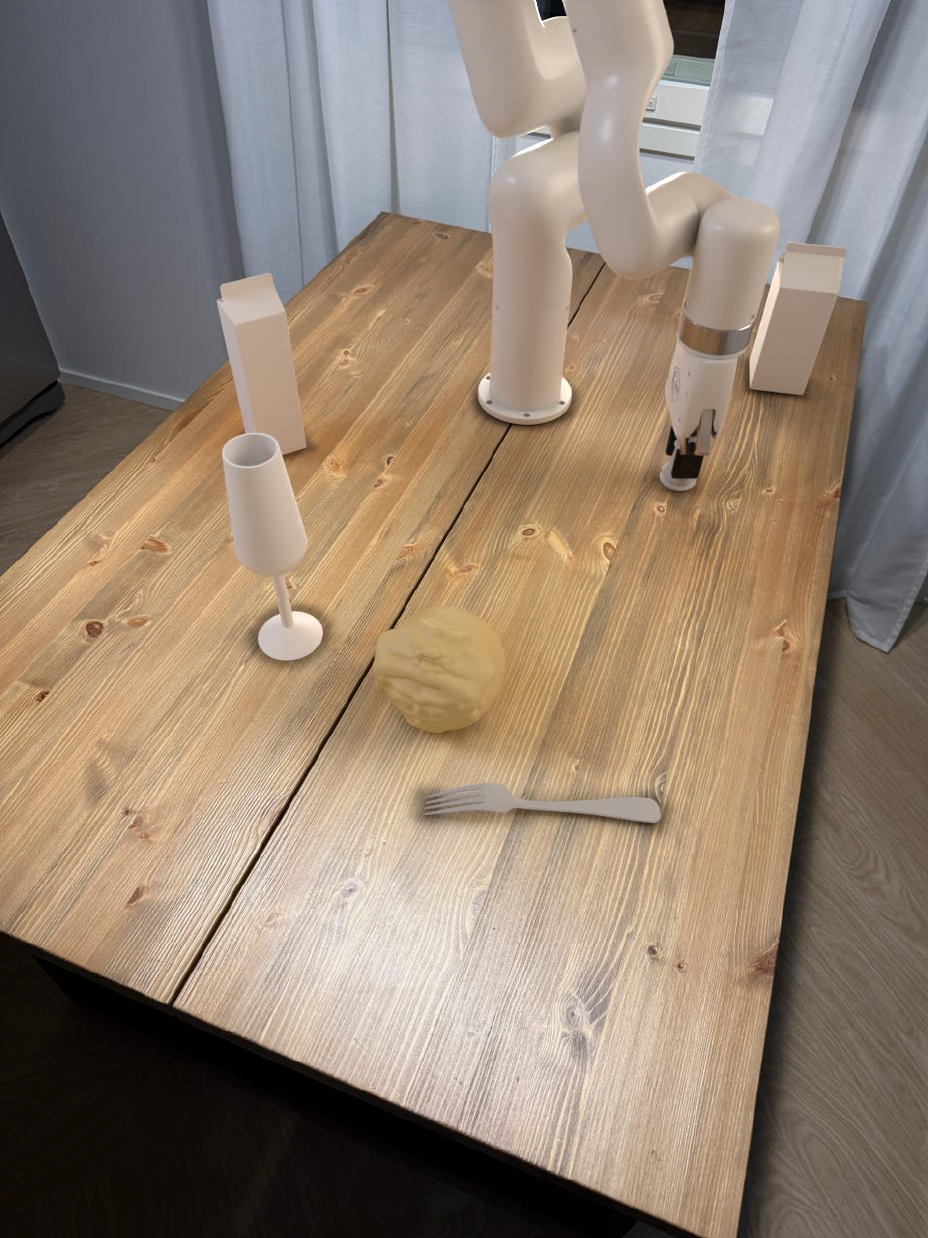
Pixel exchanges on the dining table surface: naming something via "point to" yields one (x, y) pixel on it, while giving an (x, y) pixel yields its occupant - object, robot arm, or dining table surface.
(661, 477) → the rook chess piece
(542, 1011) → the dining table surface
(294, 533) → the champagne flute
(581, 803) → the fork
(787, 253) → the milk carton
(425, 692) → the yellow dough ball
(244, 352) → the milk
